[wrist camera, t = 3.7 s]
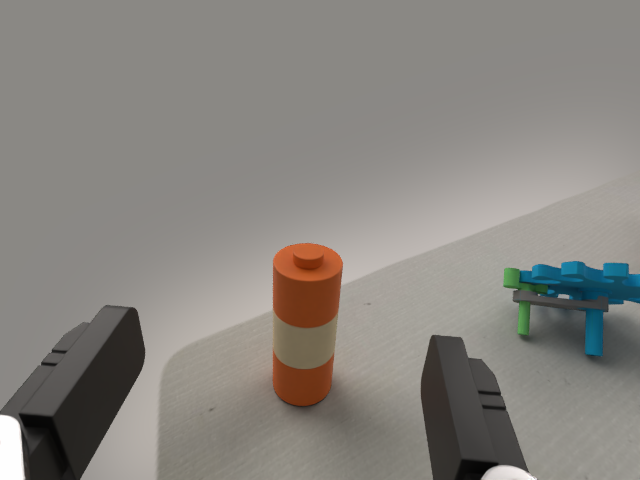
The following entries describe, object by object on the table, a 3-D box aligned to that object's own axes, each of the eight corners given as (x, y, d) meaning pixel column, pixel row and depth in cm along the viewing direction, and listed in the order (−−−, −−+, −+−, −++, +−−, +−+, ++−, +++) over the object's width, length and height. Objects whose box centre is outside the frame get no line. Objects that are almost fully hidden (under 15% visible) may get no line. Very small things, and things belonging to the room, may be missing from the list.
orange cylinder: (270, 405, 26) (269, 269, 21) (275, 359, 29) (276, 231, 24) (331, 407, 26) (345, 272, 21) (330, 361, 29) (342, 234, 24)
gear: (649, 292, 35) (718, 260, 26) (650, 369, 34) (724, 365, 24) (498, 276, 38) (512, 244, 29) (493, 346, 37) (506, 334, 28)
